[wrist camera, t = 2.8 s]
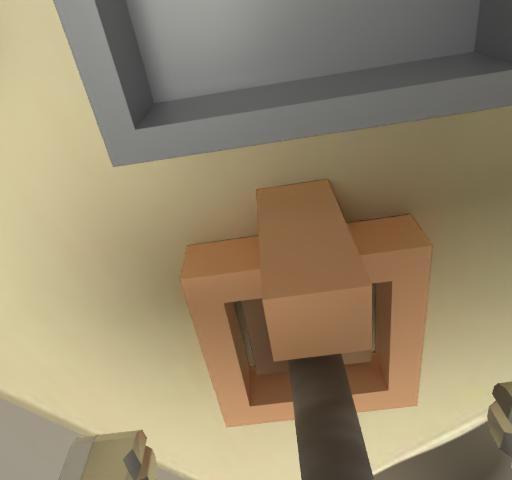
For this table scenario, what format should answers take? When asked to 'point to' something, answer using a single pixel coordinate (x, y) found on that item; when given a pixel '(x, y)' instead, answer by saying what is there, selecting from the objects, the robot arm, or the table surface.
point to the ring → (312, 301)
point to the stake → (316, 405)
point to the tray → (280, 68)
